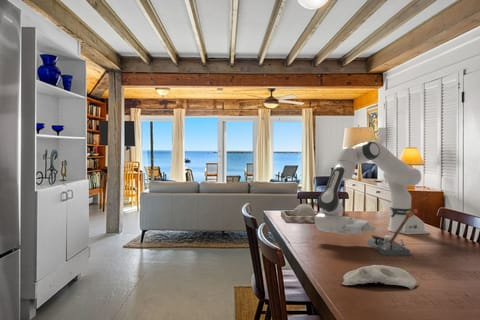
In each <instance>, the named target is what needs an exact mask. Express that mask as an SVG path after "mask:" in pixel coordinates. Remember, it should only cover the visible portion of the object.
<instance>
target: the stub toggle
mask: <svg viewBox="0 0 480 320" xmlns="http://www.w3.org/2000/svg"><path fill="white" fill-rule="evenodd" d="M400 244H401V245H402V248H403V249H404V248H405V247H406V244H405V242H404V240H403V239H400ZM406 248H407V247H406Z"/></svg>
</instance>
